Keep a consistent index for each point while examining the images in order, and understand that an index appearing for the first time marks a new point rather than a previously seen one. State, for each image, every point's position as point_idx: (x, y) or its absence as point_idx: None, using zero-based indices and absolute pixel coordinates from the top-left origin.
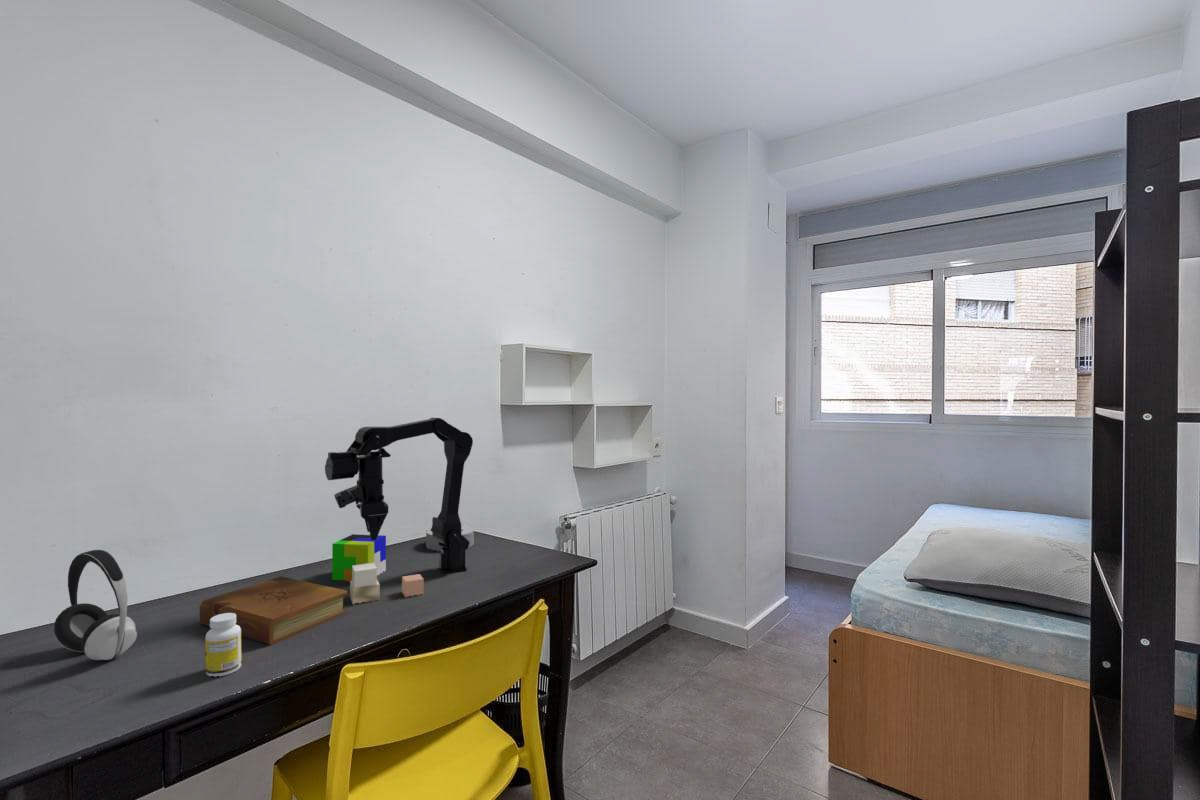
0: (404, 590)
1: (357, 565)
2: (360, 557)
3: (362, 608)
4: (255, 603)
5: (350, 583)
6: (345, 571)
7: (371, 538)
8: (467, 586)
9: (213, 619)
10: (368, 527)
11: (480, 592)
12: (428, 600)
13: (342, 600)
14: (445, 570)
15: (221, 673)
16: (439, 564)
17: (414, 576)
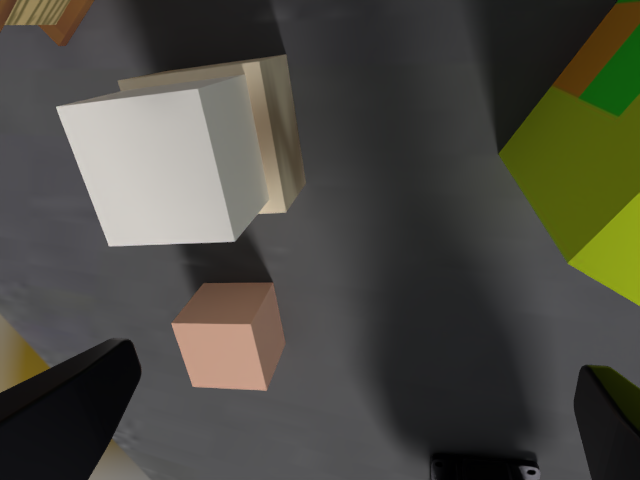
0: (210, 296)
1: (192, 129)
2: (584, 154)
3: None
4: None
5: (245, 62)
6: (637, 12)
7: (94, 350)
8: (259, 461)
9: None
10: (603, 424)
11: (194, 469)
12: (155, 341)
13: (10, 22)
14: (451, 466)
15: None
16: (498, 475)
17: (236, 366)
